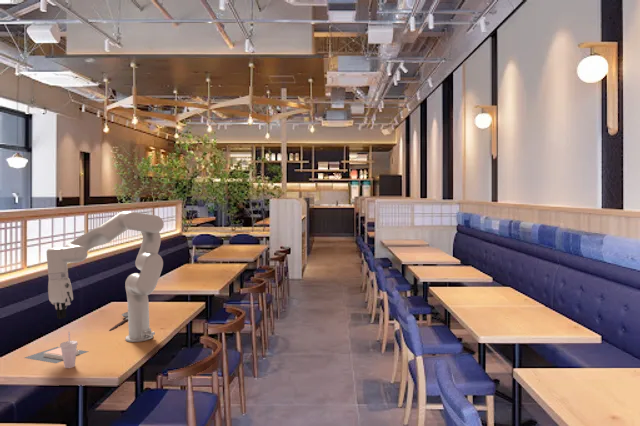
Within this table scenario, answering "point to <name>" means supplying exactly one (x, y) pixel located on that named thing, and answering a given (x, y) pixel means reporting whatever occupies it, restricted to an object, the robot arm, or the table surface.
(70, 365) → the smoothie
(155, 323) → the table surface
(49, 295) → the robot arm
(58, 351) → the tile
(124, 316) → the spoon
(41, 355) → the mat
